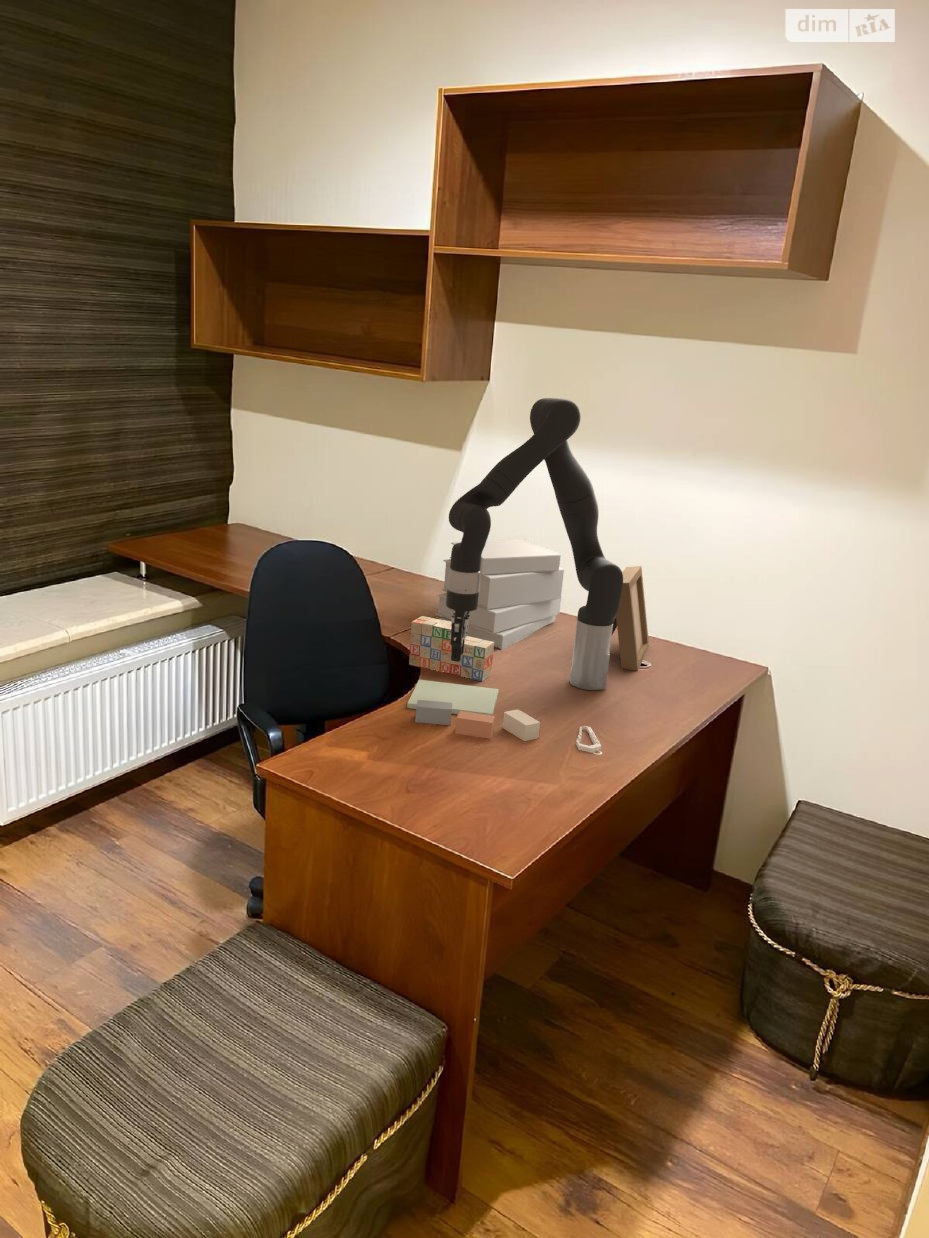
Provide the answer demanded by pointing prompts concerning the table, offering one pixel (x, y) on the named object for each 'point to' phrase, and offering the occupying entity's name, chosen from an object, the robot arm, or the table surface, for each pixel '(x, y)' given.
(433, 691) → the sage baseplate
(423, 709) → the slate brick
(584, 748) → the white triangle frame
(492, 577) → the book stack
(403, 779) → the table surface
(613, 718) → the table surface
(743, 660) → the table surface
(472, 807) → the table surface
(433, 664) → the stack of blocks
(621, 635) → the photo frame
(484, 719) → the terracotta brick
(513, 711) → the cream brick
